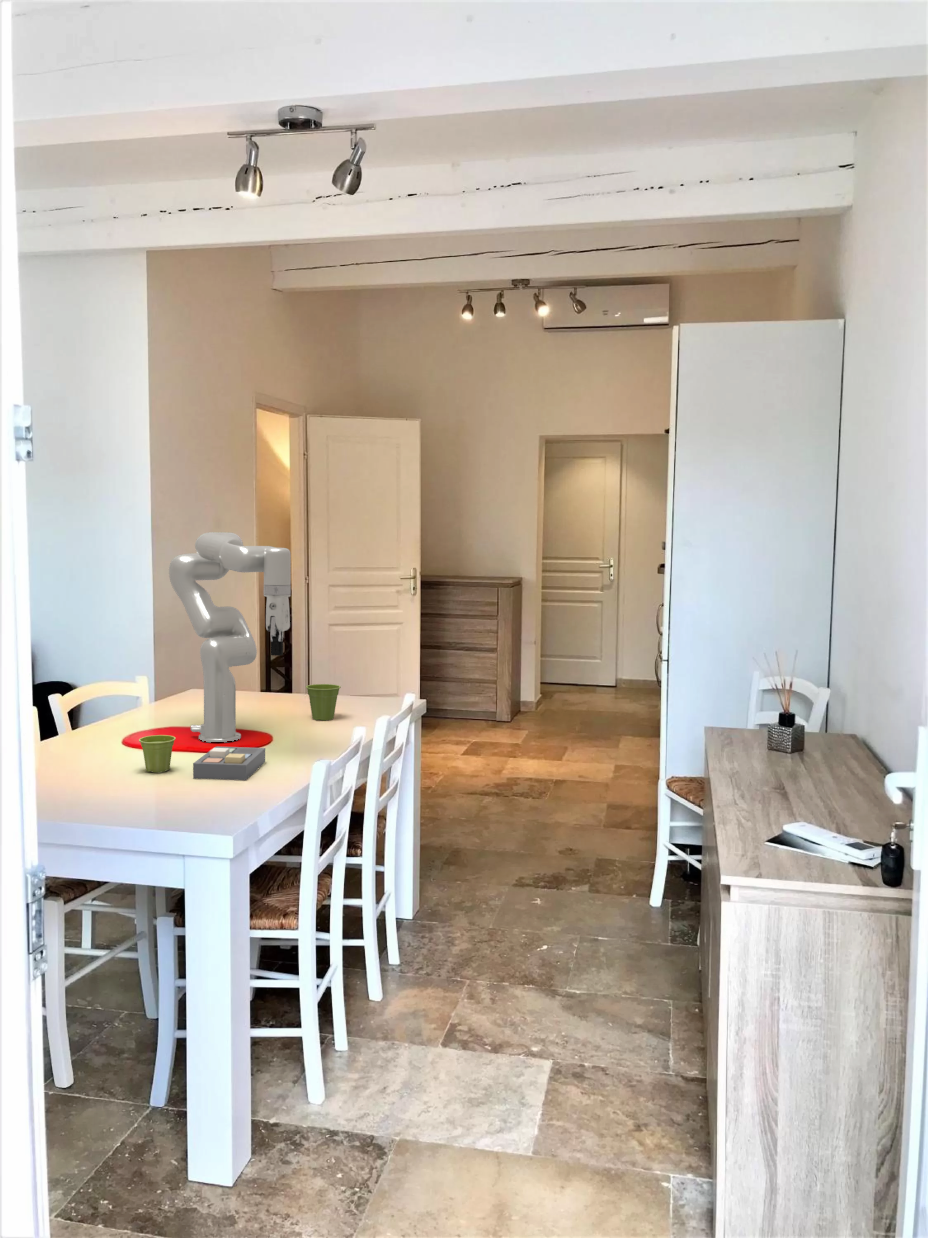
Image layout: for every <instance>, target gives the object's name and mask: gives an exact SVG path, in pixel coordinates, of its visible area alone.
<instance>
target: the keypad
mask: <svg viewBox="0 0 928 1238" xmlns="http://www.w3.org/2000/svg"><path fill="white" fill-rule="evenodd" d="M214 748H234V749H236V750H235V751H234V752H229V754H230V753H231V754H251V756H250V757H249V758H245V761H244V762H243V763H242V764H236V763H225V758H224V757H210V750H209V751H208V752H207V753H205V754H204V755H203V756H201V757H200V758H198V759H197V760H195V761H194V762H193V763H192V768H193V769H192V772H193V773H192V778H193V779H196V778H198V779H199V780H225V781H226V780H227V781H229V780H230V781H247V780H248V779H249V778H251V776H252V775H254V773H256V772H257V771H258V768H259V769H260V768H261V767H262V766H263V765H264V764H265V763H266V747H248V746H247V747H245V746H244V747H243V746H242V747H239V746H219V745H217V746H215V747H214ZM207 758H222V759H223V760H222V761H221V762H220V763H208V762H203V761H204V760H205V759H207Z"/></svg>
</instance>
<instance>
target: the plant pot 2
mask: <svg viewBox="0 0 928 1238" xmlns="http://www.w3.org/2000/svg"><path fill="white" fill-rule="evenodd" d="M341 686H342V685H337V684H331V683H320V684H319V683H317V684H316V683H313V684H309V685H306V686H305V689H306V690H307V694H308V699H309V705H310V711H311V716H312V717H311V718H312V720H314V721H319V720H320V721H324V722H325V721H332V720H333V719H334V718H335V713H336V706H337V700H338V695H339V692H340V689H341Z"/></svg>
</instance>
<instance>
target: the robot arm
mask: <svg viewBox="0 0 928 1238" xmlns="http://www.w3.org/2000/svg"><path fill="white" fill-rule="evenodd" d="M194 548H195V551H196V552H195V553H193V552H192V553H184V554H183V553H182V554H179V555H176V556H174V557H173V558H172V559H171V561H170V563H169V566H168V574H169V575H168V577H169V582H170V584H171V586H172V588H173V591H174V592H175V593H176V595H177V597H178V598H179V600H180V601H181V603H182V605H183V607H184V609H185V611H186V614H187V616H188V619H189V621H190V623H191V625H192V627H193V630H194V632H195V633H196V635H197V636H198V637H199V638H203V639H205V640H204V641H203V642H202V643H201V645H200V649H199V654H200V661H201V667H202V675H203V676H202V677H203V723H202V724H190V731H191V732H193V733H200V734H199V735H198V740H199V739H200V740H202V741H201V742H204V741H206V742H205V743H211V742H224V743H228V742H227V741H232V742H235V741H234V740H236V741H238V739H239V740H240V739H241V738H242V734H241V733H240V732H237V729H236V726H237V725H236V724H237V721H236V719H237V718H236V716H237V714H236V713H237V712H236V711H237V710H236V708H237V706H236V702H237V701H236V700H237V699H236V698H237V697H236V696H237V694H236V693H237V692H236V691H237V689H236V688H237V687H236V684H237V683H236V679H235V677H234V675H233V672H232V671H231V670H230V668H232V667H239V666H246V665H250V664H253V662H254V661H256V659H257V655H258V649H257V645H256V641H255V640H254V637H253V634H252V633H251V630H250V628H249V626H248V623H247V622H246V620H245V617H244V615H243V614H242V612H241V611H240V610H239V609H237V608H236V607H234V606H217V605H216V604H215V603H214V602H213V600H212V598H211V595H210V593H209V592H208V591H207V590H206V589H205V588H204V587H203V586H202V585H200V584H199V583H198V582H197V581H217V580H221V579H222V578H223V577H225V576H226V575H227V574H228V573H229V571H233V572H237V573H263V596H264V597H266V603H265V604H266V605H265V607H266V608H265V628H266V631H267V632H270V655H271V656H275V657H277V656H280V657H281V656H283V654H284V641H283V640H284V632H285V631H288V630H289V629H290V628H291V622H290V621H291V617H290V616H291V615H290V600H289V598H290V597H291V596H292V595H291V594H292V593H291V582H292V581H291V575H292V574H291V568H292V567H291V565H292V563H291V561H292V560H291V558H292V557H291V554H292V553H291V550H290V549H289V548H286V547H275V546H271V545H244V542H243V540H242V538H241V537H240V536H239V535H238V534H237V533H235V532H229V531H228V532H226V531H224V532H222V531H221V532H219V531H218V532H217V531H216V532H215V531H211V532H210V531H209V532H204V533H202V534H200V535H199V536H198V537H197V539H196V540H195V544H194ZM200 740H199V741H200Z"/></svg>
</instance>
